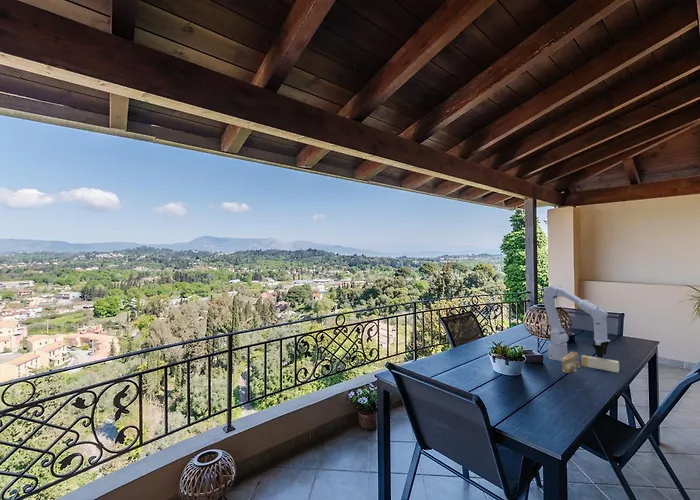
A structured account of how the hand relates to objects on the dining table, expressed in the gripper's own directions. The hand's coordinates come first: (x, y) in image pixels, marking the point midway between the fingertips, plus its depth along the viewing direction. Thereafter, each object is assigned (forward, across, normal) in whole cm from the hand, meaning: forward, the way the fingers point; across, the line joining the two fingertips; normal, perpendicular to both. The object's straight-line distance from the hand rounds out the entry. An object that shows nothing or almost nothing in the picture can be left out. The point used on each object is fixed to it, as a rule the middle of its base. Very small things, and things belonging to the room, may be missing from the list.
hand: (601, 355), depth 176 cm
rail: (+7, 0, +1) cm, 7 cm away
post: (+7, -11, +12) cm, 18 cm away
